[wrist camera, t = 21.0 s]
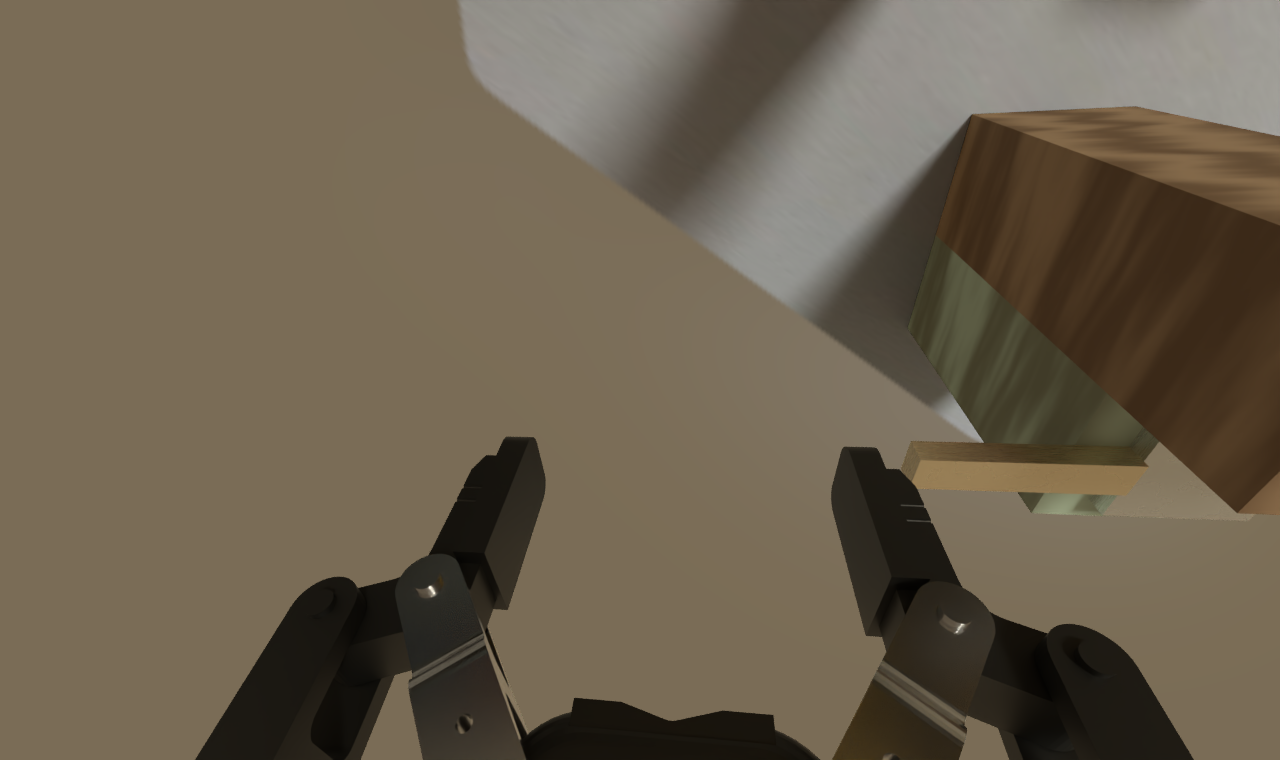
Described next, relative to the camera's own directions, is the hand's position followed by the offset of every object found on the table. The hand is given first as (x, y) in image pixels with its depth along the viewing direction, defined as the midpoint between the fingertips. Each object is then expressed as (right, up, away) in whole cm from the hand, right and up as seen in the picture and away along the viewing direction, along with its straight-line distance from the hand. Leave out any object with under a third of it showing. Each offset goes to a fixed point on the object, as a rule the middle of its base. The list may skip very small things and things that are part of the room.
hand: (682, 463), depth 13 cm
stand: (+32, +16, +32) cm, 48 cm away
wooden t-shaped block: (+24, -3, +16) cm, 29 cm away
